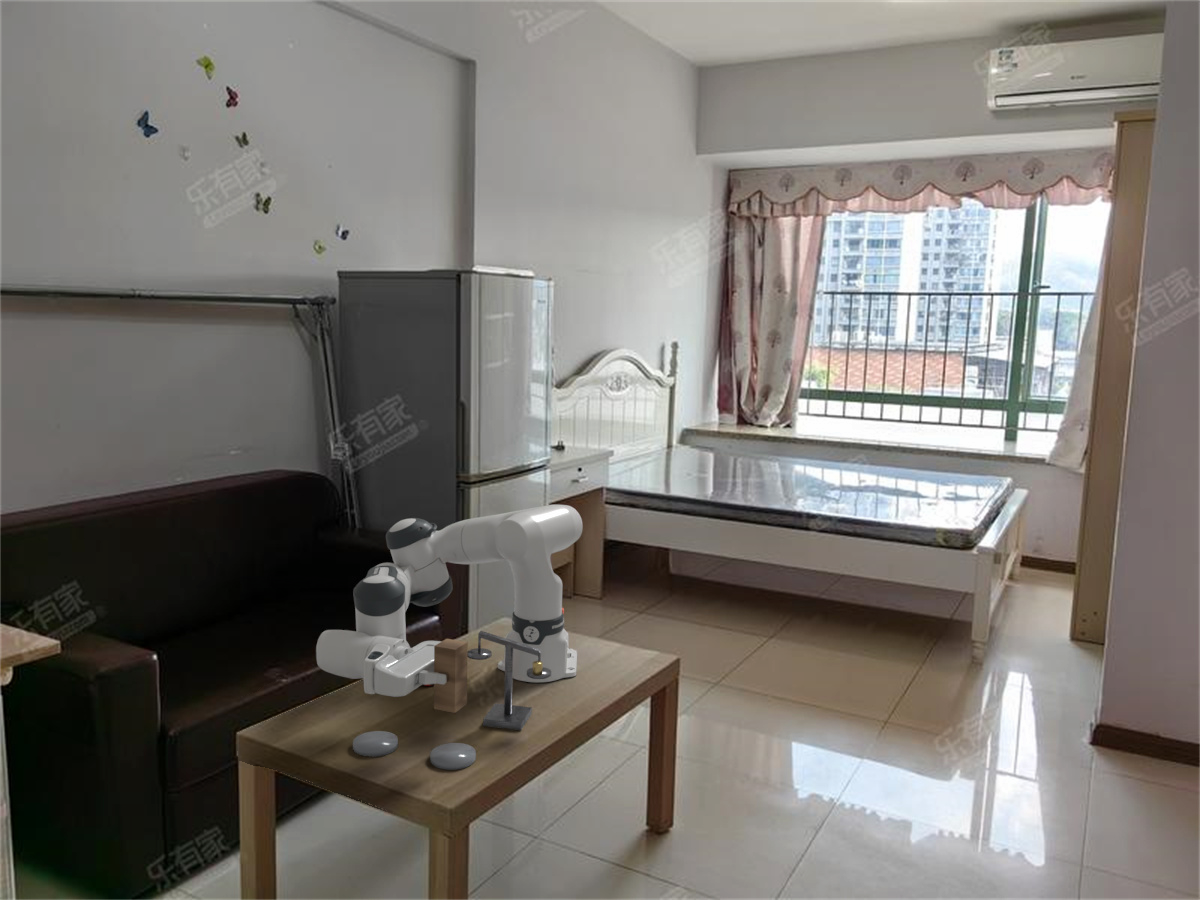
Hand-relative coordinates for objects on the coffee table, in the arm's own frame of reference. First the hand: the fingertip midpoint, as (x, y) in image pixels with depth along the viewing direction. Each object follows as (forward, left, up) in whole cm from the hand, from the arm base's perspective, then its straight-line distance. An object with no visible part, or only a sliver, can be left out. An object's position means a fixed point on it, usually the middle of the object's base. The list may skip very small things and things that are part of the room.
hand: (455, 673), depth 172 cm
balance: (-20, +4, -17) cm, 27 cm away
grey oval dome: (-2, -17, -17) cm, 24 cm away
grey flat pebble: (-1, -1, -17) cm, 17 cm away
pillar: (0, -1, -7) cm, 7 cm away
